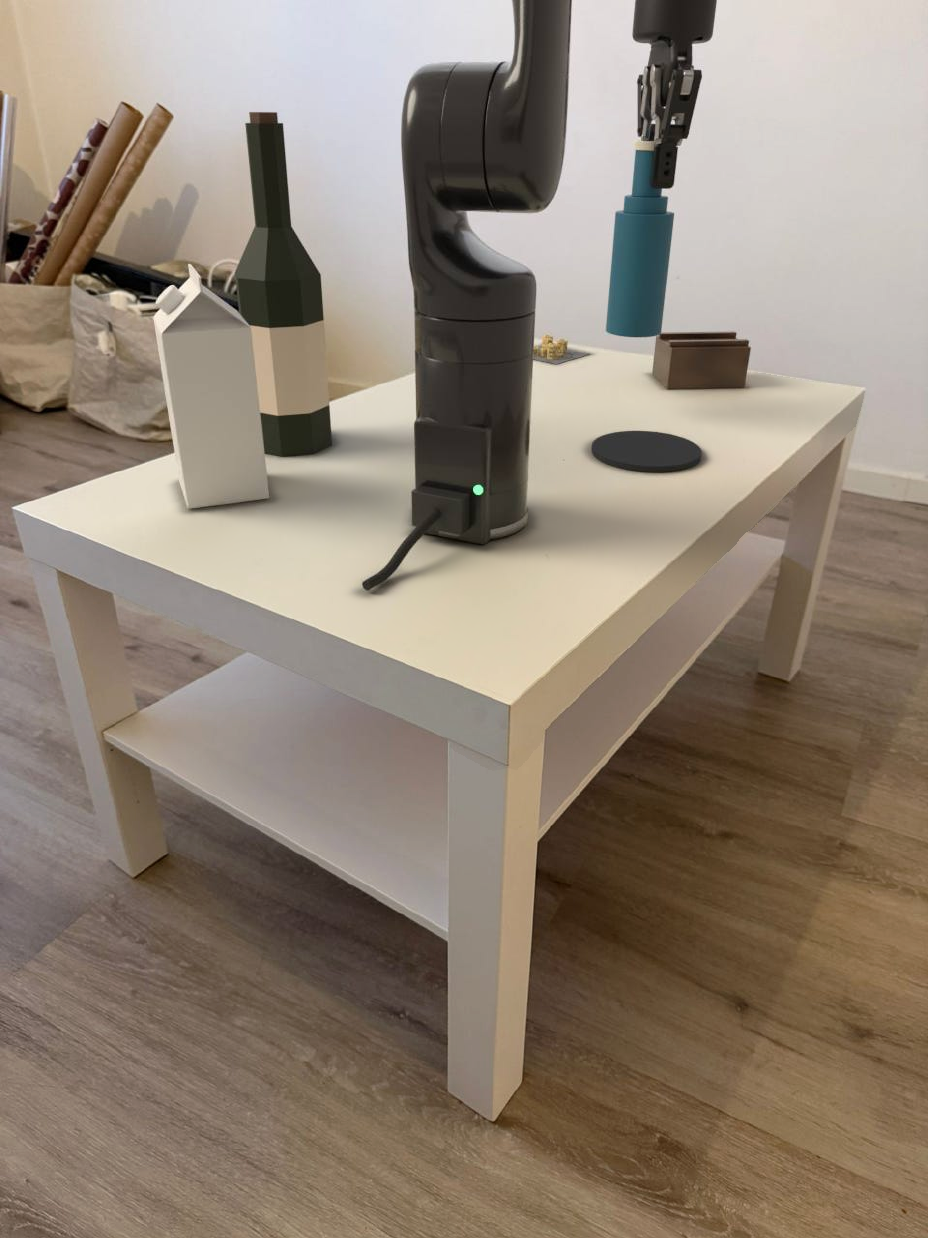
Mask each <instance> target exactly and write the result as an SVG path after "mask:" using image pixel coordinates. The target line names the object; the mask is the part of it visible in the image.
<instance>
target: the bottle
mask: <svg viewBox="0 0 928 1238" xmlns="http://www.w3.org/2000/svg"><path fill="white" fill-rule="evenodd" d="M654 147H659V146H656V145H655V141H641V140H635V141H634V149H633V150H634V151H635V152H634V153H635V154H634V164H633V177H632V184H631V185H632V186H631V194H626V195H624V198H623V199H624V200H623V210H616V211H615V214H614V224H613V236H612V237H613V238H612V249H611V250H612V251H611V261H610V262H611V263H610V275H609V284H608V285H609V287H608V297H607V299H608V300H607V310H606V312H607V313H606V321H605V322H606V323H605V332H606V333H608V334H610V335H613V336H618V337H624V338H652V337H656V336H658V335H659V334H661V332H662V327H663V319H664V311H665V310H664V309H665V301H666V291H667V284H668V283H667V282H668V275H669V266H670V257H671V247H672V239H673V238H672V237H673V231H674V229H673V228H674V219H675V213H674V212H672V211H668V202H669V197H668V196H667V195H663V194H662V193H663V189H656V188H653V187H652V186H651V174H652V164H653V154H654Z"/></svg>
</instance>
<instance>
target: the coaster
mask: <svg viewBox="0 0 928 1238" xmlns="http://www.w3.org/2000/svg"><path fill="white" fill-rule="evenodd" d="M590 451H591V454H592V456H593V457H595V458H596V459H597V460H598V461H600V462H602V463H604V464H606V465H609V466H612V467H615V468H618V469H623V470H629V471H634V472H642V473H643V472H644V473H666V472H667V473H669V472H677V471H683V470H686V469H690V468H692V467H694V466H696V465H697V464H699V463H700V461H701V459H702V456H703V455H702V454H703V451H702V448H701V447H700V446H699V445H698V444H696V443H695V442H693V441H691V440H690V439H687V438H686V437H683V436H679V435H675V434H671V433H666V432H662V431H661V432H659V431H650V430H623V431H622V430H621V431H614V432H610V433H606V434H603V435H600V436H598V437H597V438H595V439H594V440H593V441H592V443H591V450H590Z"/></svg>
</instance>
